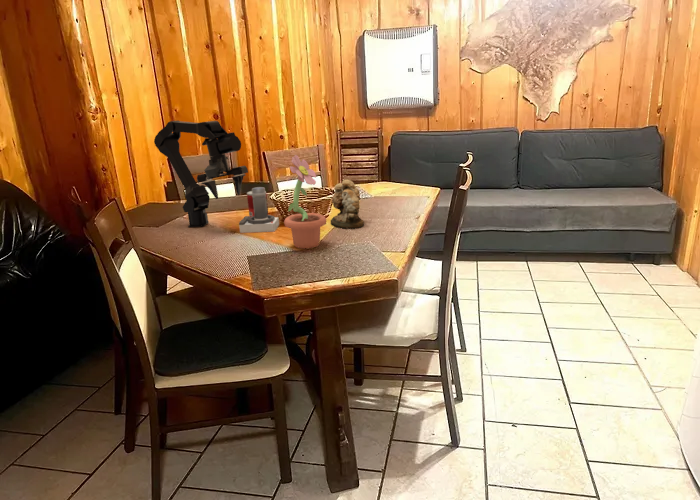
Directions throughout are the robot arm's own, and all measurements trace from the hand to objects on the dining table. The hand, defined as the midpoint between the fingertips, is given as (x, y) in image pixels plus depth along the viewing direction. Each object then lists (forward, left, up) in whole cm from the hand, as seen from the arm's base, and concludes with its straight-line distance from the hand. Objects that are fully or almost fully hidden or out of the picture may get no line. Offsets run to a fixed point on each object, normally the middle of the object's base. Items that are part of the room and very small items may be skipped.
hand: (227, 196), depth 189 cm
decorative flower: (+32, -26, -13) cm, 43 cm away
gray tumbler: (+12, -1, -10) cm, 15 cm away
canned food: (+7, +16, -13) cm, 22 cm away
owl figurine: (+44, +2, -13) cm, 46 cm away
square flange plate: (+11, -1, -13) cm, 17 cm away
